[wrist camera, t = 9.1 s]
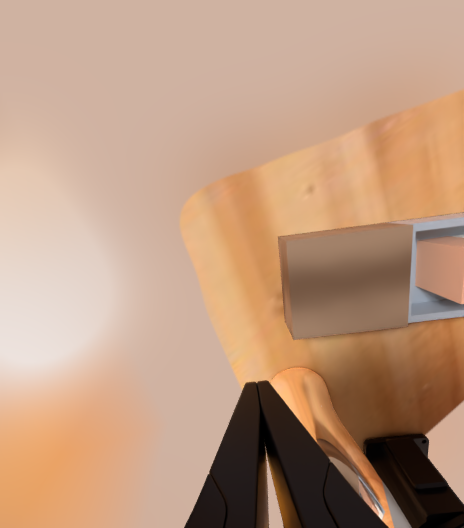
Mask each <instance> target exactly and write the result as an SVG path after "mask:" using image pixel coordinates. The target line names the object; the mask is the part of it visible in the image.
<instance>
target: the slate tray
mask: <svg viewBox="0 0 464 528" xmlns="http://www.w3.org/2000/svg"><path fill="white" fill-rule="evenodd" d="M387 223H395V224H409V225H413V240H412V258H411V276H410V294H409V312H408V323H412V322H421V321H429V320H438V319H446V318H455V317H463V316H464V304H459V303H457V302H454V301H452V300H449V299H447V298H444V297H442V296H439V295H437V294H435V293H432V292H430V291H427V290H425V289H422V288H420V287H417V286H415V277H416V251H417V240H423V239H430V238H437V237H444V236H456V235H463V234H464V212H463V213H456V214H448V215H441V216H433V217H425V218H418V219H410V220H402V221H395V222H387Z"/></svg>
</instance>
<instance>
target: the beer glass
mask: <svg viewBox="0 0 464 528" xmlns="http://www.w3.org/2000/svg"><path fill="white" fill-rule="evenodd" d="M270 384H271V385H272V386H273V388H274V389H275V390H276V391H277V393H278V394H279V395H280V396H281V398H282V399H283V400H284V401H285V403H286V404H287V405H288V407H289V408H290V409H291V410H292V412H293V413H294V414H295V415H296V417H297V418H298V419H299V420H300V422H301V423H302V424H303V426H304V427H305V428H306V429H307V431H308V432H309V433H310V434H311V436H312V437H313V438H314V440H315V441H316V442H317V443H318V445H319V446H320V447H321V448H322V450H323V451H324V452H325V453H326V455H327V456H328V457H329V459H330V460H331V462H333V463H334V465H335V466H336V467H337V469H338V470H339V471H340V472H341V474H342V475H343V476H344V477H345V479H346V480H347V481H348V482H349V483H350V485H351V486H352V487H353V488H354V489H355V491H356V492H357V493H358V494H359V495H360V496H361V498H362V499H363V500H364V501H365V502H366V503H367V504H368V505H369V506H370V508H371V509H372V510H373V511H374V512H375V513H376V514H377V515H378V516H379V517H380V519H381V520H382V521H383V522H384V523H385V524H386V525H387V526H388V527H389V528H413V527H412V525H411V524H410V522H409V520H408V518H407V517H406V515H405V513H404V512H403V510H402V508H401V507H400V505H399V503H398V502H397V500H396V498H395V497H394V495H393V494H392V492H391V491H390V489H389V488H388V486H387V485H386V484H385V482H384V481H383V479H382V478H381V476H380V475H379V473H378V472H377V470H376V469H375V468H374V466H373V465H372V463H371V462H370V461H369V459H368V458H367V457H366V455H365V454H364V453H363V451H362V450H361V449H360V447H359V446H358V445H357V443H356V442H355V441H354V439H353V438H352V437H351V435H350V434H349V433H348V431H347V430H346V428H345V427H344V425H343V424H342V423H341V421H340V419H339V418H338V416H337V414H336V412H335V410H334V408H333V405H332V403H331V399H330V396H329V393H328V389H327V386H326V384H325V382H324V380H323V379H322V378H321V376H320V375H318V374H317V373H316V372H314V371H312V370H310V369H307V368H301V367H296V368H289V369H286V370H284V371H281V372H280V373H278V374H277V375H276V376H274V377H273V379H272V380H271V381H270ZM283 527H284V524H283Z"/></svg>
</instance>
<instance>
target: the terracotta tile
mask: <svg viewBox="0 0 464 528" xmlns="http://www.w3.org/2000/svg"><path fill="white" fill-rule="evenodd" d="M415 286H417V287H420V288H422V289H425V290H427V291H430V292H432V293H435V294H437V295H439V296H442V297H444V298H447V299H449V300H452V301H454V302H457V303H459V304H464V238H462V237H453V236H444V237H437V238H430V239H423V240H417V251H416V277H415Z"/></svg>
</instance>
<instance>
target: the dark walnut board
mask: <svg viewBox="0 0 464 528" xmlns="http://www.w3.org/2000/svg"><path fill="white" fill-rule="evenodd" d="M412 240H413V225H409V224H395V223H379V224H372V225H364V226H356V227H349V228H341V229H333V230H326V231H318V232H311V233H303V234H295V235H288V236H280V237H278V243H279V255H280V267H281V279H282V291H283V303H284V315H285V323H286V325H287V327H288V329H289V331H290V333H291V335H292V337H293V339H294V340H297V339H306V338H314V337H323V336H331V335H340V334H349V333H357V332H366V331H375V330H383V329H392V328H400V327H408V312H409V294H410V276H411V258H412Z"/></svg>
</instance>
